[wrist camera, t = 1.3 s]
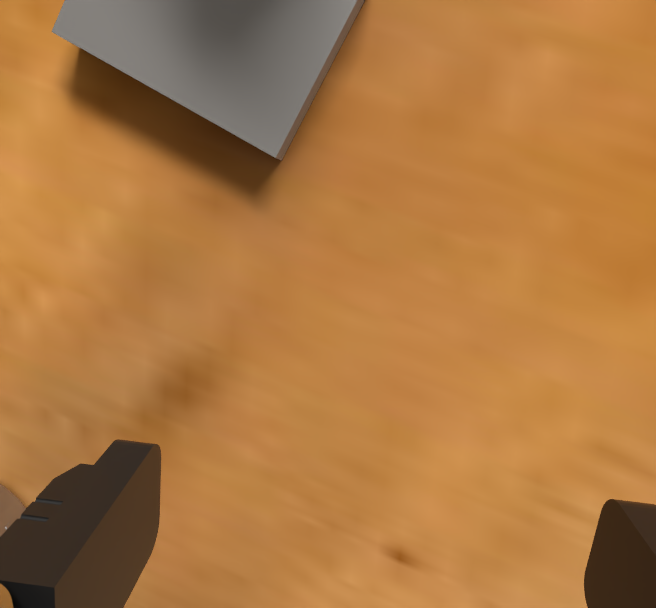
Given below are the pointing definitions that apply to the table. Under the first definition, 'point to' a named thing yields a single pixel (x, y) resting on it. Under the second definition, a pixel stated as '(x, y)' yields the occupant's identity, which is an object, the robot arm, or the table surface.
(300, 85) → the slotted block
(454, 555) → the table surface
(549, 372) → the table surface
